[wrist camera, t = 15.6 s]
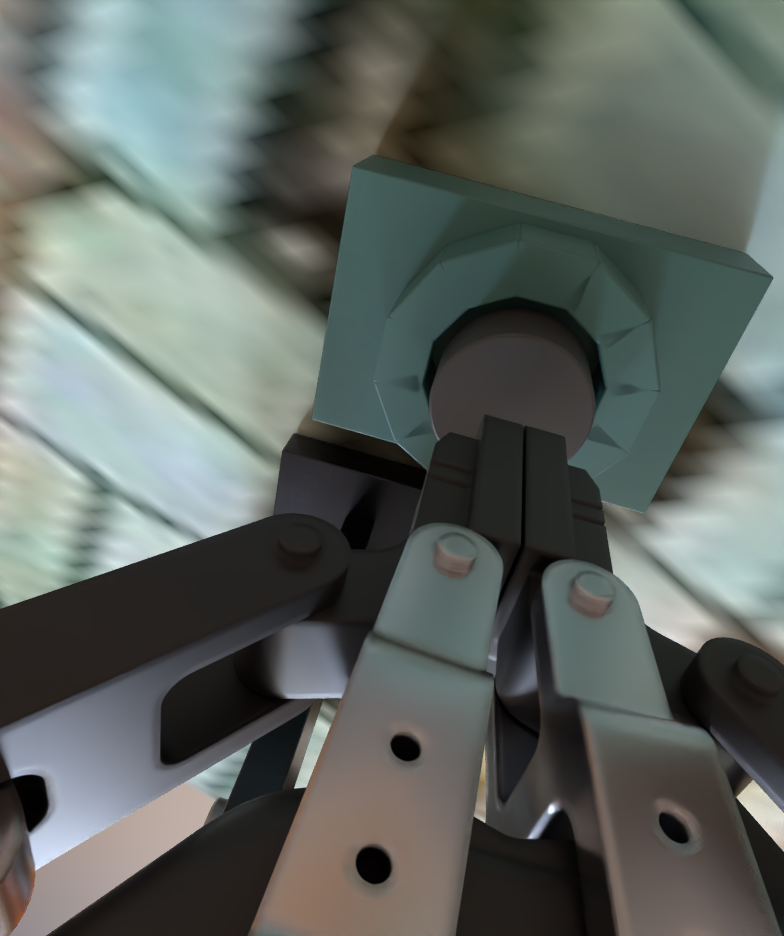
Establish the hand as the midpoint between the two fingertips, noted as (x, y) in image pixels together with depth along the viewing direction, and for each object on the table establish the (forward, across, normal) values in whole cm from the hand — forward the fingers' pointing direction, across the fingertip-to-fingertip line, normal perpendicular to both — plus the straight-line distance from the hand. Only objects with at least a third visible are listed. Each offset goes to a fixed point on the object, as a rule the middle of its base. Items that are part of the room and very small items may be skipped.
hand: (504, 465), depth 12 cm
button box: (+8, 0, 0) cm, 8 cm away
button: (+4, 0, 0) cm, 4 cm away
